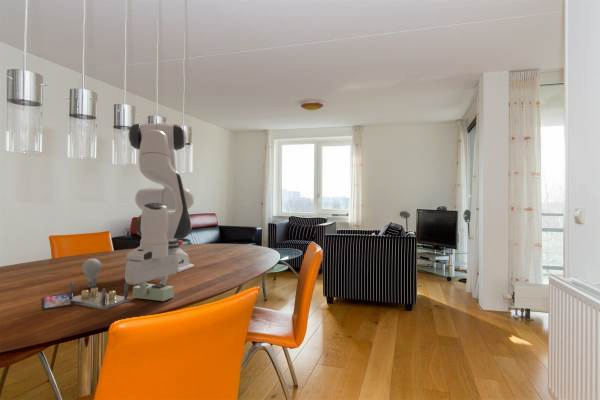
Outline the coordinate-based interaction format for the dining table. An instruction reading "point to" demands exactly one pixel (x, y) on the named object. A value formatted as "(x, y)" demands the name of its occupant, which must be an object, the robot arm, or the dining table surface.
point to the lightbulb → (91, 270)
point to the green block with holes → (155, 292)
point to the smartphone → (56, 302)
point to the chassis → (98, 297)
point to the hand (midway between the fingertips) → (153, 291)
